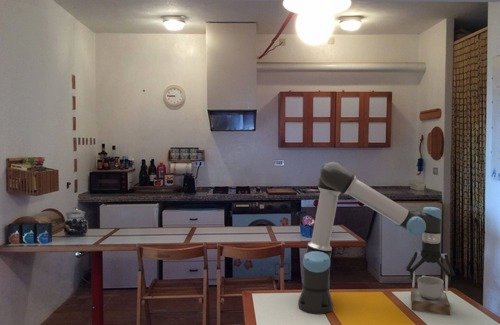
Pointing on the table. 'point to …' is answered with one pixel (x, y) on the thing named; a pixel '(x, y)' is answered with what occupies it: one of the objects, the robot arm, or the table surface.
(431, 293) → the teacup
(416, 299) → the walnut riser
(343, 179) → the robot arm
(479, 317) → the table surface
